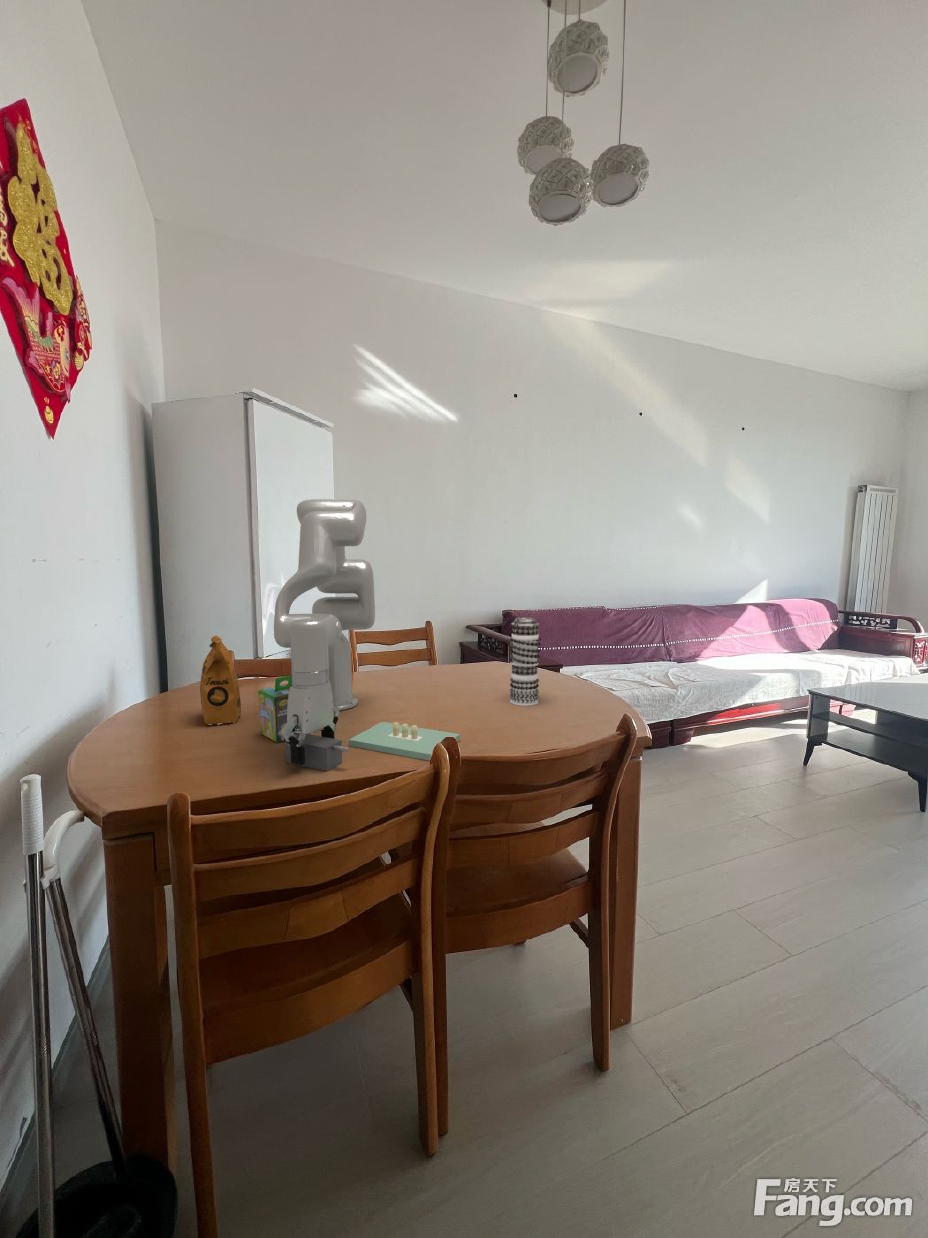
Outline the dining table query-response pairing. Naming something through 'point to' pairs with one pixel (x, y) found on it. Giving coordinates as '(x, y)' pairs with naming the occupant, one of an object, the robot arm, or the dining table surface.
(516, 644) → the decorative candle
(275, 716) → the chalk box
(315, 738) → the plug housing
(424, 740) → the header board
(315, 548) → the robot arm
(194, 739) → the dining table surface
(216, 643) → the coffee package
